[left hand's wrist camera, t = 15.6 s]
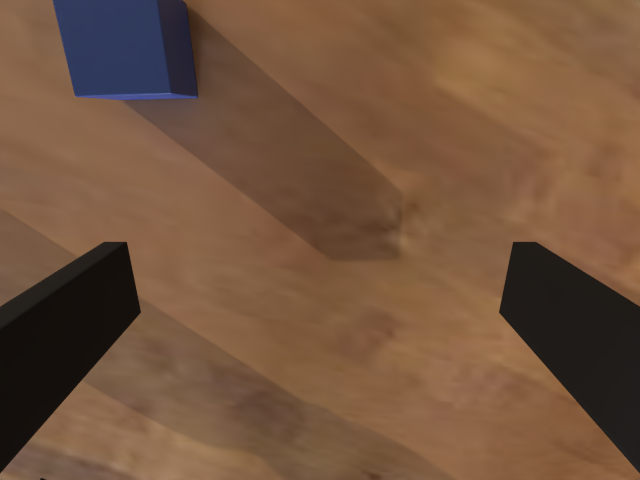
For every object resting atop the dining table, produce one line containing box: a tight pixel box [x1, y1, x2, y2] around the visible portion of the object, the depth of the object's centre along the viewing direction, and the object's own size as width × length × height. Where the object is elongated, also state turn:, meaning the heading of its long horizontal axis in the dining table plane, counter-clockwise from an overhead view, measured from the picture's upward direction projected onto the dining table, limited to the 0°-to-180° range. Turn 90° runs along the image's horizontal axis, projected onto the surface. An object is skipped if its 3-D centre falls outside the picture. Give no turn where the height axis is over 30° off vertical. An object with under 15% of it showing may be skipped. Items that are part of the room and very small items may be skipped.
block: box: [53, 0, 198, 100], centre depth 19 cm, size 5×5×4 cm
